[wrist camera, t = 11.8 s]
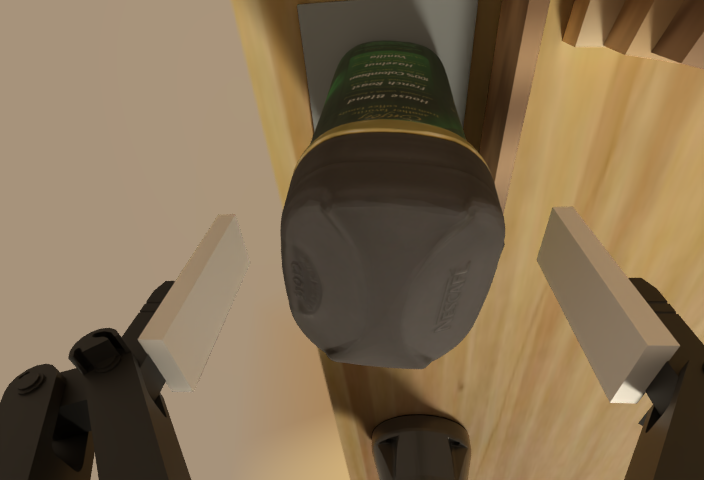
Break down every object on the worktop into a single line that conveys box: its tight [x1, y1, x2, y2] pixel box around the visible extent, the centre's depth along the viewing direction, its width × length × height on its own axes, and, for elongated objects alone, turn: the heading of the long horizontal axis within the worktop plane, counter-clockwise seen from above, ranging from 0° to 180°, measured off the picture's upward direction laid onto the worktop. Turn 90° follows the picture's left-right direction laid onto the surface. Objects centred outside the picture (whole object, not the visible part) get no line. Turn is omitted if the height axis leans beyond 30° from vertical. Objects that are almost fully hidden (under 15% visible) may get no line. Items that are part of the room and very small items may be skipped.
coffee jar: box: [281, 41, 505, 369], centre depth 19 cm, size 10×8×19 cm
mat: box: [297, 0, 478, 132], centre depth 27 cm, size 14×11×1 cm
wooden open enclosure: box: [479, 0, 550, 213], centre depth 22 cm, size 16×23×5 cm
